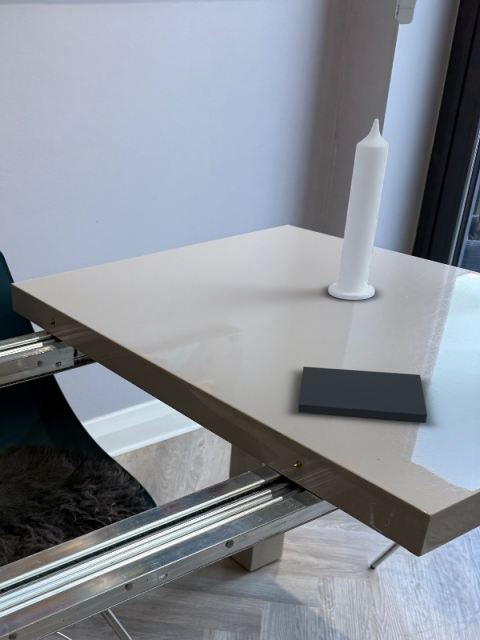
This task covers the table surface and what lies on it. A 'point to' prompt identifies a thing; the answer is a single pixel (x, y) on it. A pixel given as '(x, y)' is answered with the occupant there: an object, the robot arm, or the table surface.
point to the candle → (362, 217)
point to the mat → (362, 394)
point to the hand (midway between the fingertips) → (402, 22)
